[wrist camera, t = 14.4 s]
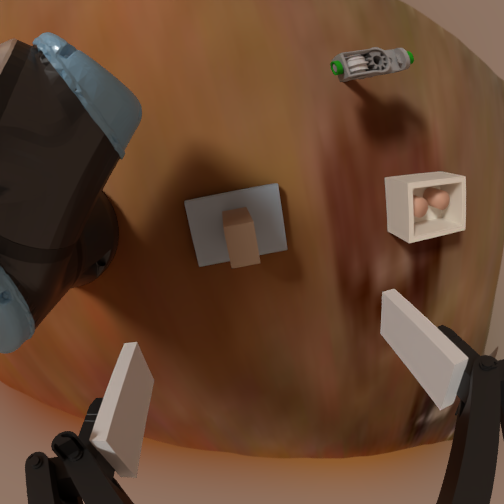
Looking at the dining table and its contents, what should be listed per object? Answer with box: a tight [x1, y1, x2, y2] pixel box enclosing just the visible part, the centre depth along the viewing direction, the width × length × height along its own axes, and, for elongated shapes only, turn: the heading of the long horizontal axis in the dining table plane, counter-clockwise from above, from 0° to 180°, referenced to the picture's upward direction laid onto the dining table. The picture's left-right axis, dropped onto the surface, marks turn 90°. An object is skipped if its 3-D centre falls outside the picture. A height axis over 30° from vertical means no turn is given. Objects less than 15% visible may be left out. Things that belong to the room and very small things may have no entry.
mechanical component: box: [331, 47, 414, 82], centre depth 30 cm, size 3×10×10 cm, turn 109°
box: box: [385, 171, 466, 243], centre depth 39 cm, size 11×8×6 cm
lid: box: [184, 183, 288, 269], centre depth 36 cm, size 12×9×10 cm
